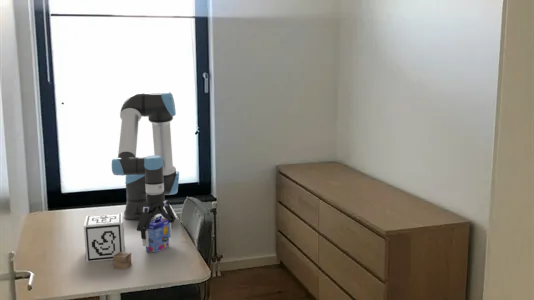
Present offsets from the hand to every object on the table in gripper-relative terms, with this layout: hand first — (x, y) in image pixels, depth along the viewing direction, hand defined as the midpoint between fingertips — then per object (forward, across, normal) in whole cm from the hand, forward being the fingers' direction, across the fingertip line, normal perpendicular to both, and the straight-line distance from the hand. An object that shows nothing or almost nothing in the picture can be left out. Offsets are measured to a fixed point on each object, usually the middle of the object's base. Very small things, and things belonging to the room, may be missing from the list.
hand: (157, 241), depth 248 cm
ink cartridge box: (+4, 0, 0) cm, 4 cm away
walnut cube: (+3, -22, -3) cm, 22 cm away
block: (+4, -16, +14) cm, 22 cm away
